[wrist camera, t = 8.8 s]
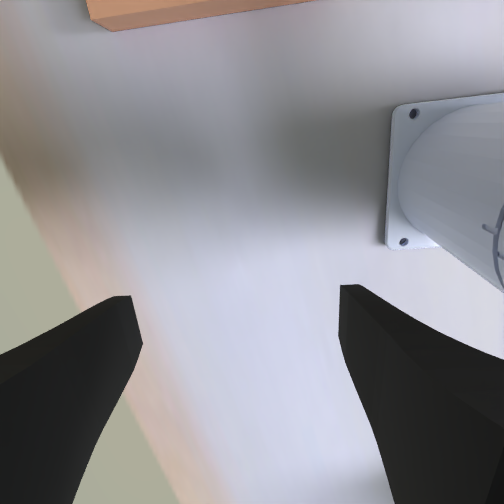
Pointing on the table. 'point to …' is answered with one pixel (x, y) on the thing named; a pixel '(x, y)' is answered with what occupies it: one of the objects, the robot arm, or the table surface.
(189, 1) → the stand
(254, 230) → the table surface
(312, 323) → the table surface
